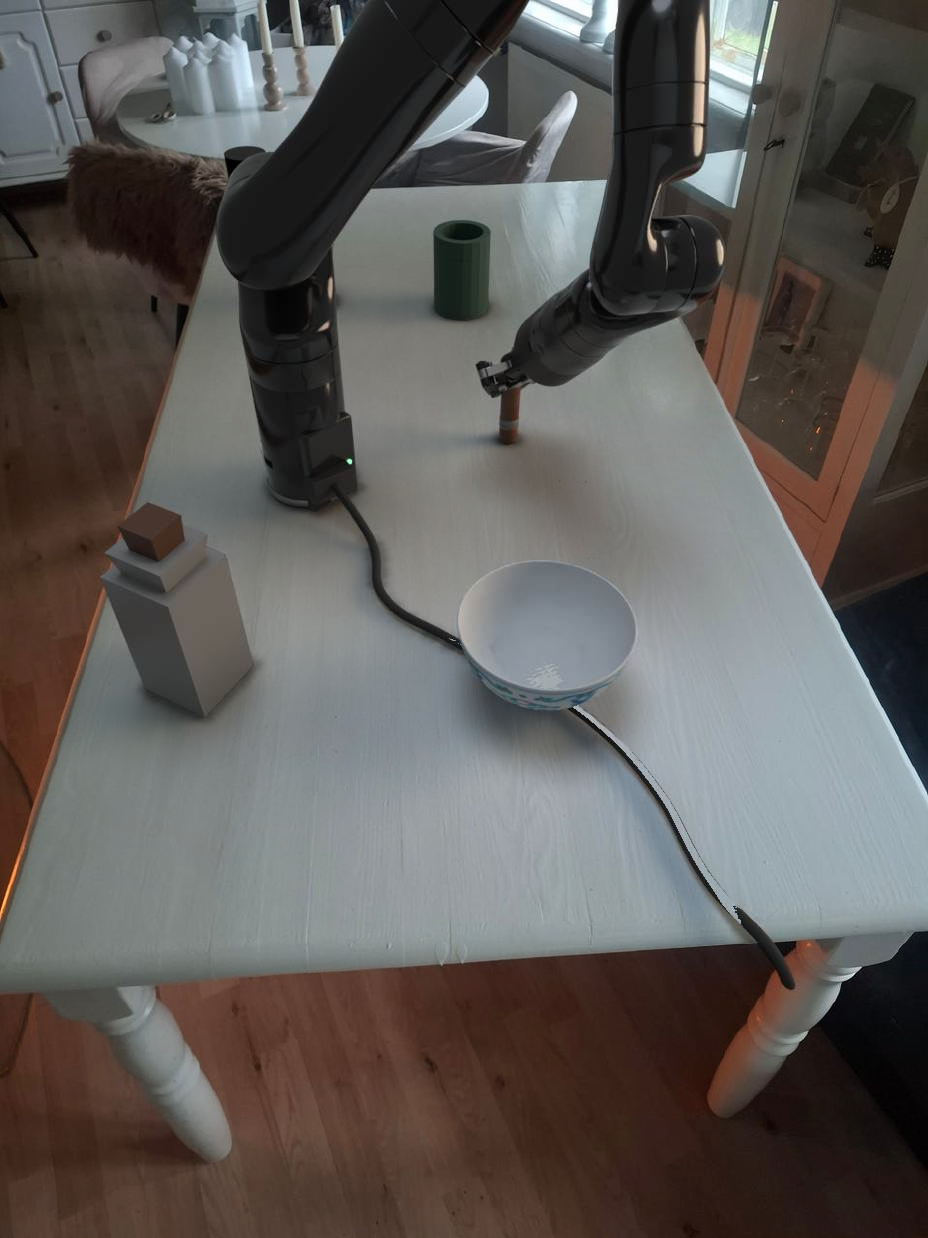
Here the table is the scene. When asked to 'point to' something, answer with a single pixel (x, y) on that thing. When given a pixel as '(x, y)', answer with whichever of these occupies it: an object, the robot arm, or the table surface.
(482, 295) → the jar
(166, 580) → the perfume bottle
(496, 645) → the chinaware
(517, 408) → the brown banded cylinder
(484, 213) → the table surface
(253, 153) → the supplement container
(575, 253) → the table surface
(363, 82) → the robot arm
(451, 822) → the table surface
